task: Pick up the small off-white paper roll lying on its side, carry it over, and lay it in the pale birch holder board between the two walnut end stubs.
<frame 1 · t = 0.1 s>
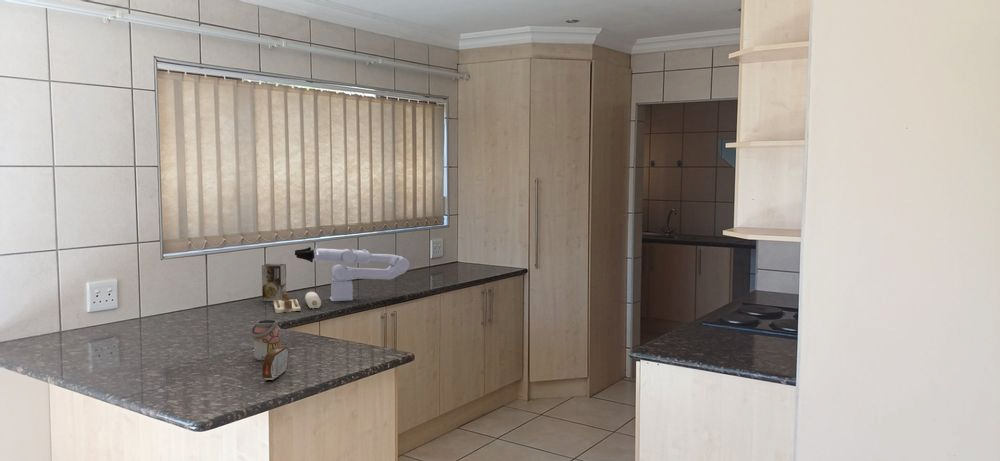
hand: (295, 253, 325), 22 cm above the countertop, tool horizontal, fingers open, 7 cm apart
roll holder: (286, 307, 314), on the countertop
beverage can: (266, 359, 235), on the countertop
tin: (276, 377, 216), on the countertop
paper roll: (313, 306, 318), on the countertop
coffee box: (274, 300, 330), on the countertop
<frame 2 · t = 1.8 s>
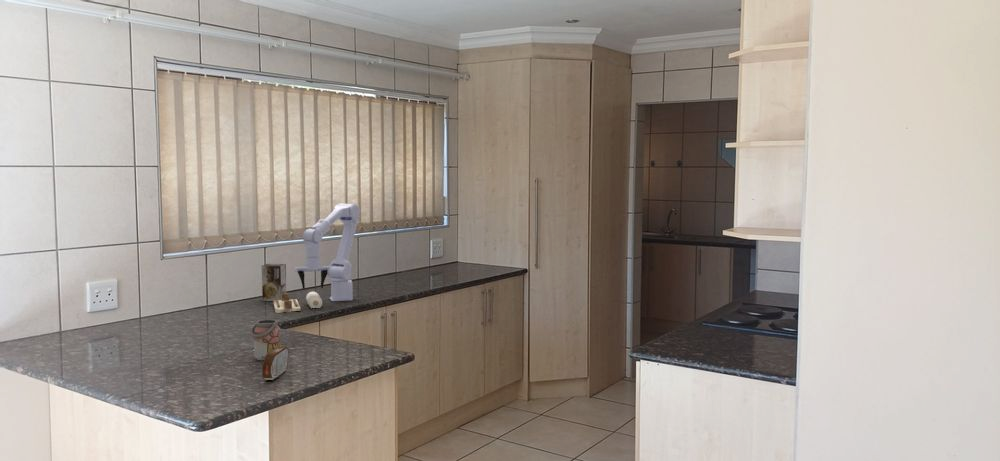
hand: (312, 287, 317), 8 cm above the countertop, tool pointing down, fingers open, 7 cm apart
paper roll: (312, 306, 318), on the countertop, tilted 10°
everything else where it was.
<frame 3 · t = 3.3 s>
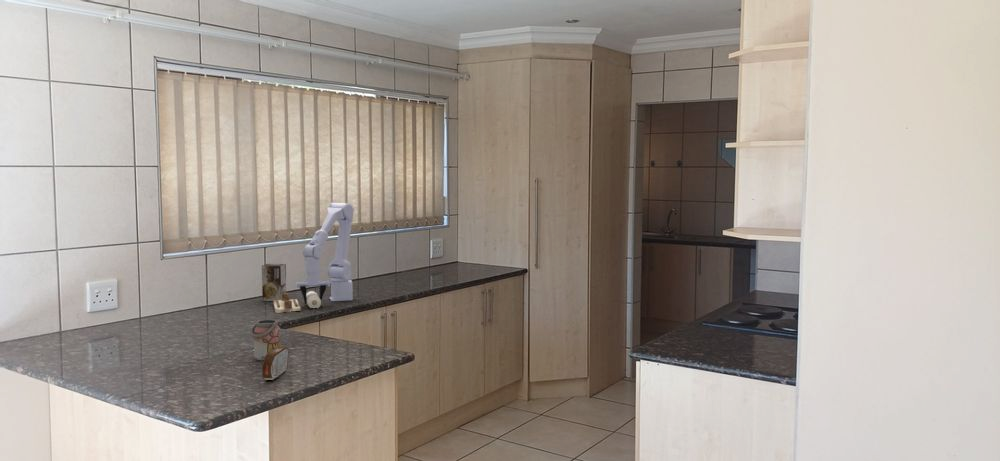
hand: (312, 303, 318), 1 cm above the countertop, tool pointing down, fingers closed on paper roll, 6 cm apart
paper roll: (312, 306, 318), on the countertop, touching gripper
everything else where it was.
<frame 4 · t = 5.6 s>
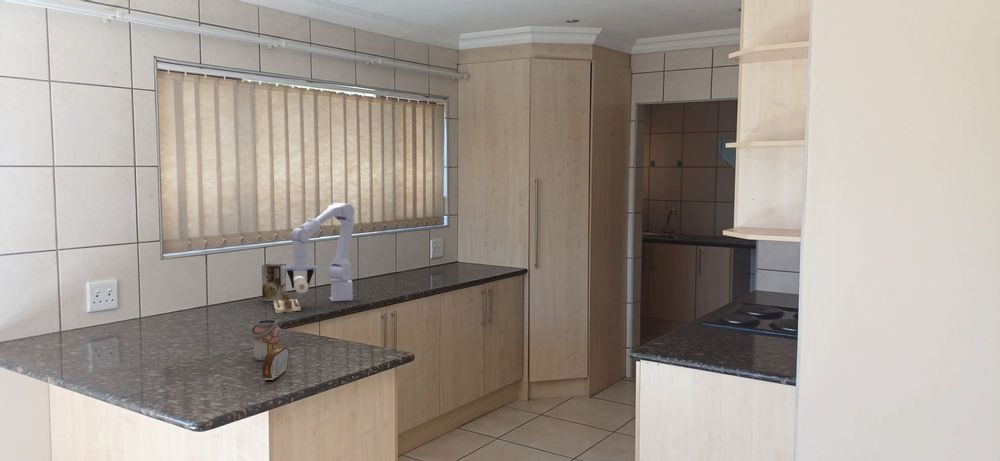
hand: (300, 287, 315), 9 cm above the countertop, tool pointing down, fingers closed on paper roll, 6 cm apart
paper roll: (300, 290, 315), point 7 cm above the countertop, touching gripper
everything else where it was.
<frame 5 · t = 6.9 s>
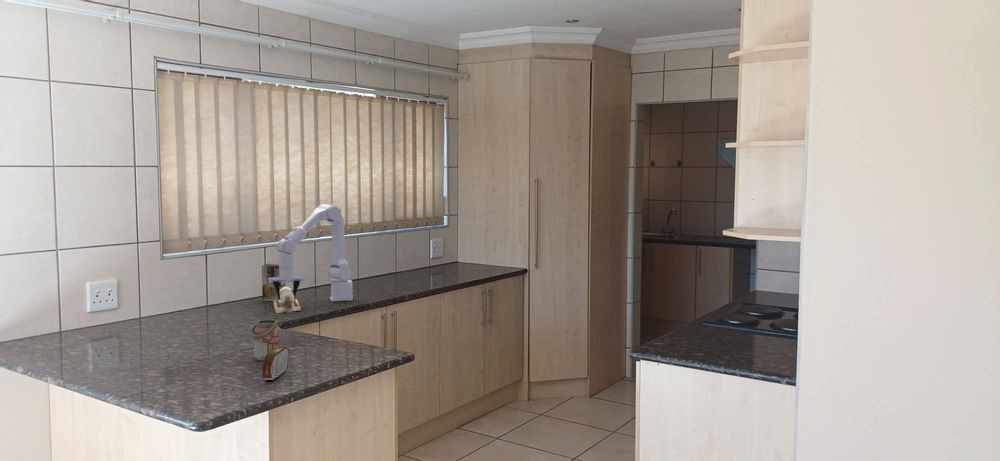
hand: (286, 298, 314), 4 cm above the countertop, tool pointing down, fingers closed on paper roll, 6 cm apart
paper roll: (286, 301, 314), point 2 cm above the countertop, touching gripper
everything else where it was.
when the fingers open (4 cm above the countertop, at t = 7.9 s): paper roll stays where it is, resting on roll holder.
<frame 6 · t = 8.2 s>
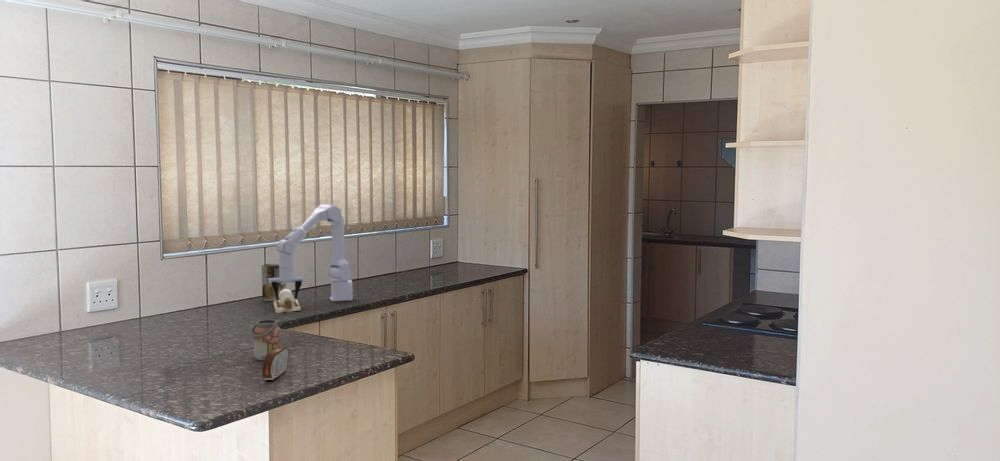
hand: (286, 299, 314), 4 cm above the countertop, tool pointing down, fingers open, 7 cm apart
paper roll: (286, 304, 314), point 1 cm above the countertop, touching roll holder
everything else where it was.
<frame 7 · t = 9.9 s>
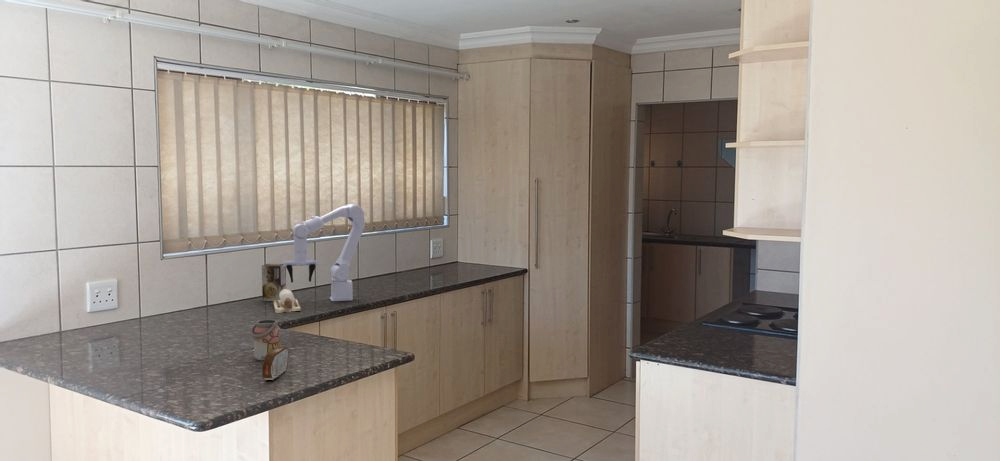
hand: (301, 281, 324), 9 cm above the countertop, tool pointing down, fingers open, 7 cm apart
nothing on the countertop moved.
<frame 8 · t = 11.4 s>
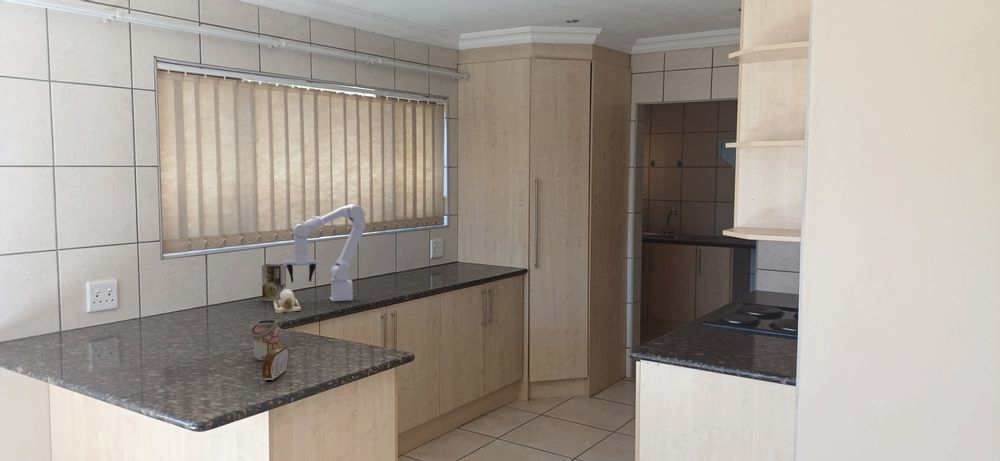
hand: (301, 281, 325), 9 cm above the countertop, tool pointing down, fingers open, 7 cm apart
paper roll: (286, 304, 314), point 2 cm above the countertop, tilted 10°, touching roll holder
everything else where it was.
at the end: paper roll 0.0 cm off-centre on the roll holder, point 1.5 cm above the roll holder's base; paper roll touching roll holder; the gripper is holding nothing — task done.
